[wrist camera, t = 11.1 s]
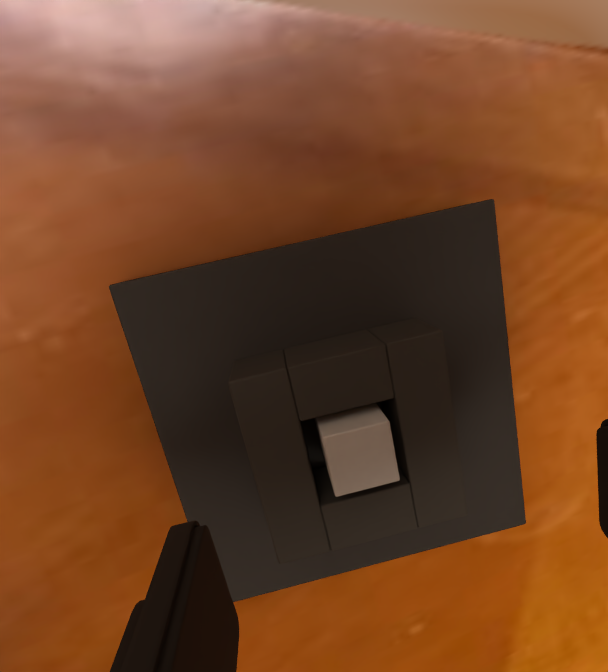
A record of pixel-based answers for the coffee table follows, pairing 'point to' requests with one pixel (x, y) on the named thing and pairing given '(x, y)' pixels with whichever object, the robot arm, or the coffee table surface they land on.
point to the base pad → (309, 312)
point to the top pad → (338, 395)
